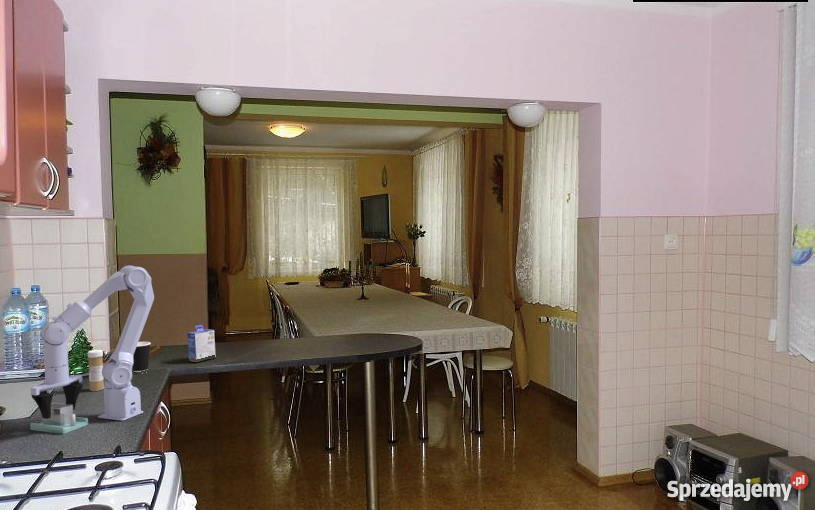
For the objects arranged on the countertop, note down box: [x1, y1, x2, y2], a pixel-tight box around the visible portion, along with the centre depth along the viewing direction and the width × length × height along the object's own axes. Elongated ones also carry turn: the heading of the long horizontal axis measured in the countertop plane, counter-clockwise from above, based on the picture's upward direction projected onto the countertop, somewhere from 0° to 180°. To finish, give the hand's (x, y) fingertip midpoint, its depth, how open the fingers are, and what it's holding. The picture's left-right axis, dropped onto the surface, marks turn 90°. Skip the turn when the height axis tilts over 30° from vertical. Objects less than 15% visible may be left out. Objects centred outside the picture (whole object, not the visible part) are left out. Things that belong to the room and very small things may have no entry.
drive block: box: [41, 402, 74, 427], centre depth 168 cm, size 7×4×5 cm, turn 70°
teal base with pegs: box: [29, 413, 89, 435], centre depth 168 cm, size 12×8×4 cm, turn 70°
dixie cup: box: [132, 341, 152, 373], centre depth 230 cm, size 8×8×11 cm
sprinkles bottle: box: [87, 349, 105, 392], centre depth 206 cm, size 5×5×14 cm
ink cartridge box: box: [186, 324, 216, 360], centre depth 248 cm, size 10×6×14 cm, turn 148°
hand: (58, 413), depth 168 cm, fingers open, 7 cm apart
